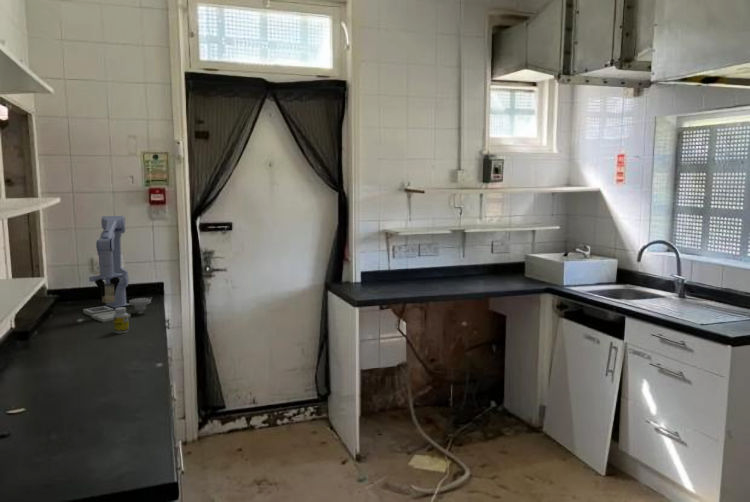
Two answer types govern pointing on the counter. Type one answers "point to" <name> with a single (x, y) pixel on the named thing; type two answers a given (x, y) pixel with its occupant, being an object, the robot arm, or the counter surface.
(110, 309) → the holder
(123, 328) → the supplement bottle
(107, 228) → the robot arm
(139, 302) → the showerhead
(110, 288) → the peg
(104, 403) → the counter surface
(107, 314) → the tray
